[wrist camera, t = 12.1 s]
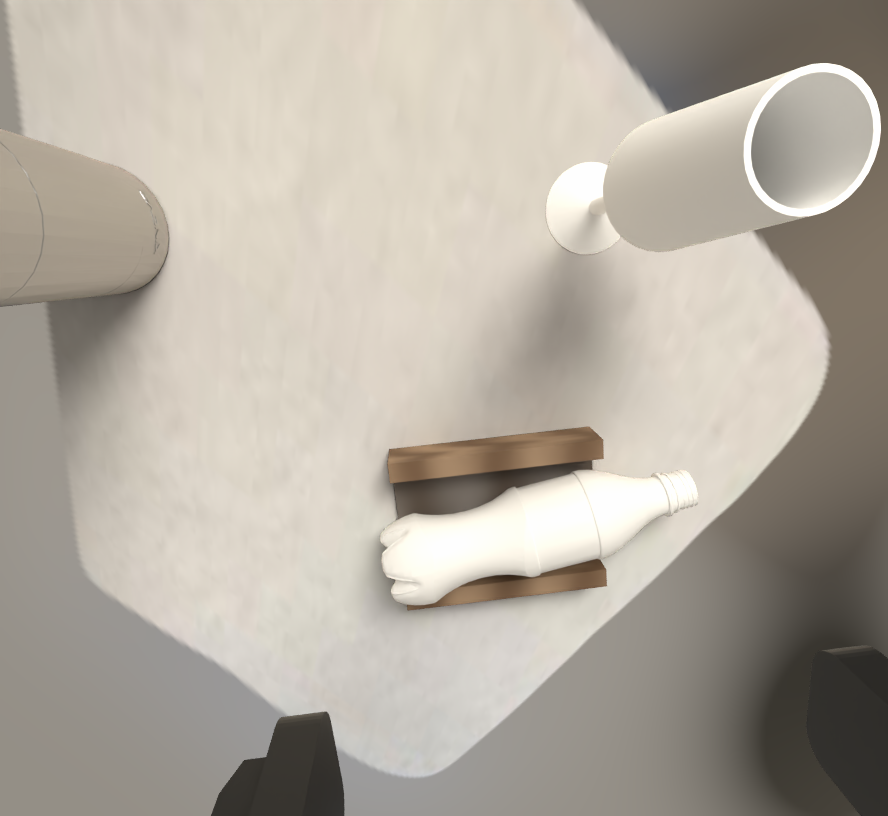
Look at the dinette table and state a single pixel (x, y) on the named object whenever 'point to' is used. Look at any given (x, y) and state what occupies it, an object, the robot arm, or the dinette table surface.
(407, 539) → the water bottle
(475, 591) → the walnut cradle
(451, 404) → the dinette table surface
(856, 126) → the champagne flute
